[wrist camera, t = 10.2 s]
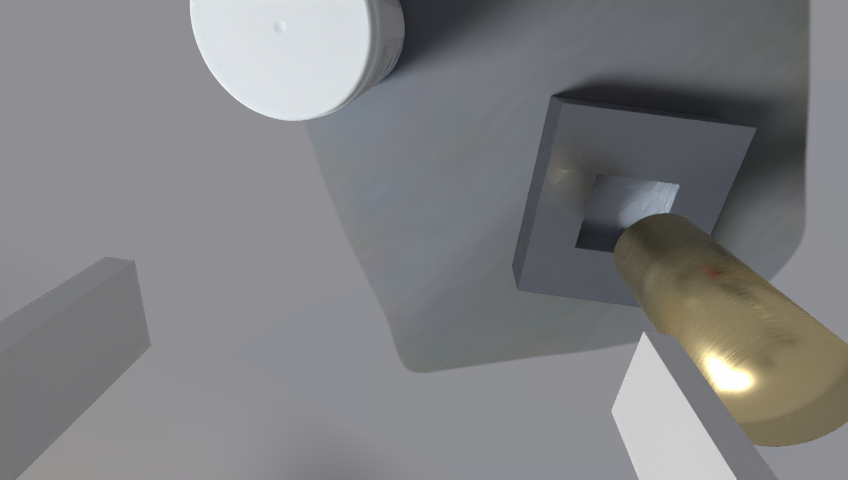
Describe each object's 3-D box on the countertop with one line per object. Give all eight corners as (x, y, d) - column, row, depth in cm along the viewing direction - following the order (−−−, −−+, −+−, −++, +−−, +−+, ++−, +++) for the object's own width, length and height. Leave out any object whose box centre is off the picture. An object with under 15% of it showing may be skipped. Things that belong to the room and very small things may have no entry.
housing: (551, 95, 36) (562, 103, 31) (722, 117, 35) (757, 128, 31) (512, 266, 42) (517, 290, 38) (655, 285, 42) (676, 312, 38)
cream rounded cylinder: (628, 207, 28) (750, 329, 16) (715, 219, 28) (903, 351, 16) (603, 282, 30) (694, 436, 19) (683, 293, 30) (826, 455, 18)
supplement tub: (273, -28, 33) (149, -72, 20) (393, -55, 32) (346, -122, 19) (308, 101, 37) (224, 136, 24) (416, 82, 36) (391, 108, 23)
